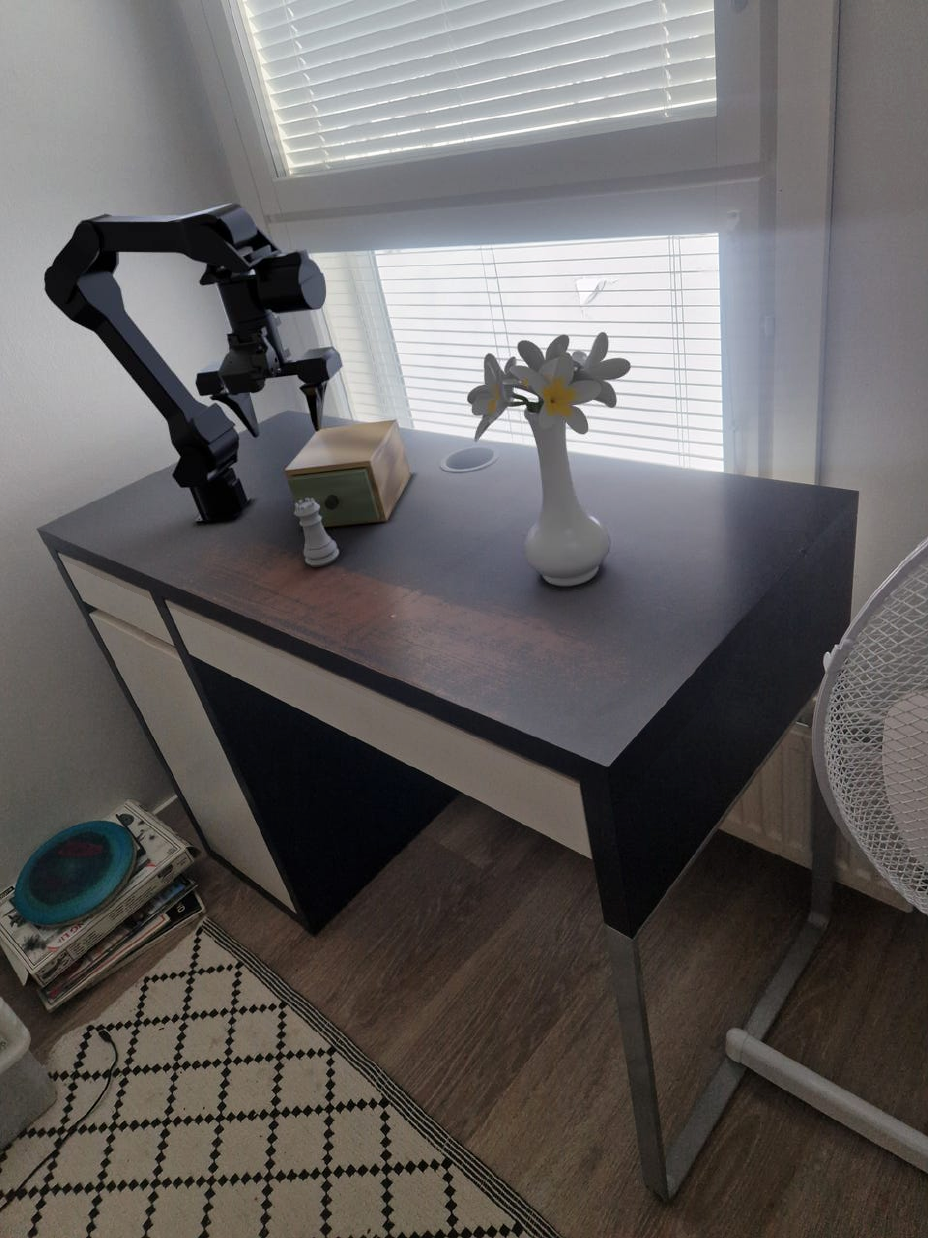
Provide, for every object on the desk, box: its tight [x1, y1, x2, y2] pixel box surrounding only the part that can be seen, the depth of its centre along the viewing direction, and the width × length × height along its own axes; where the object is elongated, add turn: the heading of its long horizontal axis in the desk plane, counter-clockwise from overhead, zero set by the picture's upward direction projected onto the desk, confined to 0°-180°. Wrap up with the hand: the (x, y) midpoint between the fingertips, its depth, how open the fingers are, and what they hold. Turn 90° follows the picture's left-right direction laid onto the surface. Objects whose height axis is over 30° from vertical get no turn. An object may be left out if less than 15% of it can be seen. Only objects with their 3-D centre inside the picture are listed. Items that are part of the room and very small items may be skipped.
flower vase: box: [466, 331, 632, 587], centre depth 87 cm, size 13×18×25 cm
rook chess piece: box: [293, 498, 340, 568], centre depth 106 cm, size 4×4×8 cm
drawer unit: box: [284, 419, 412, 528], centre depth 119 cm, size 14×12×9 cm
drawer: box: [287, 467, 381, 525], centre depth 117 cm, size 14×11×7 cm
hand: (287, 433), depth 115 cm, fingers open, 9 cm apart
